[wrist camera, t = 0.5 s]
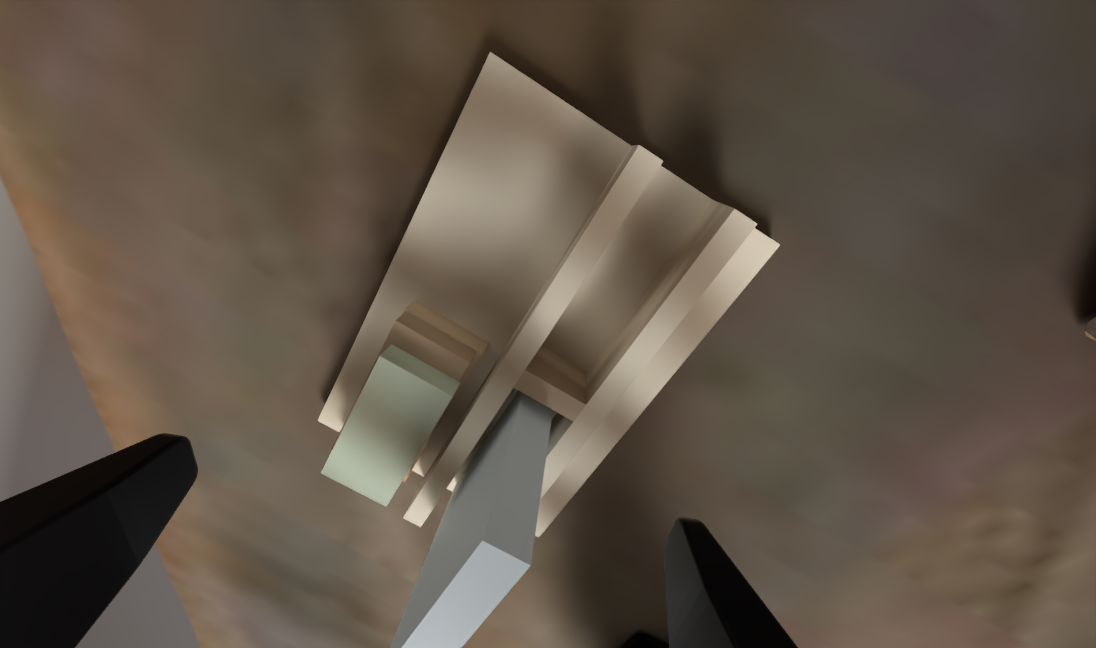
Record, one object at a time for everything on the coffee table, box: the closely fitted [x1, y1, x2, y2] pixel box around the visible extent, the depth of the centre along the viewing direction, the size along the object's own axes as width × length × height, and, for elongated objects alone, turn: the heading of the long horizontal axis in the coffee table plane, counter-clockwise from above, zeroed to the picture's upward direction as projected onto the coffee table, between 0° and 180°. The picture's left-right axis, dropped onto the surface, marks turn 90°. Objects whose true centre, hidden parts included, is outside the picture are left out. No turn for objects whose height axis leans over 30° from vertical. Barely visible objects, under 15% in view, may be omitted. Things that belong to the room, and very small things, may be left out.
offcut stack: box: [321, 300, 489, 506], centre depth 21 cm, size 9×4×4 cm, turn 149°
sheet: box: [390, 390, 553, 648], centre depth 19 cm, size 8×2×10 cm, turn 149°
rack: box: [318, 52, 780, 537], centre depth 20 cm, size 20×14×4 cm
